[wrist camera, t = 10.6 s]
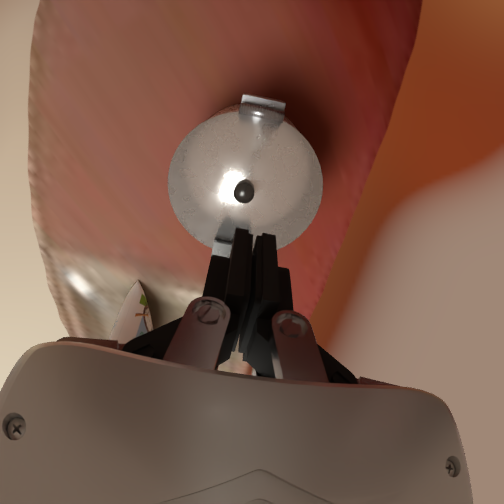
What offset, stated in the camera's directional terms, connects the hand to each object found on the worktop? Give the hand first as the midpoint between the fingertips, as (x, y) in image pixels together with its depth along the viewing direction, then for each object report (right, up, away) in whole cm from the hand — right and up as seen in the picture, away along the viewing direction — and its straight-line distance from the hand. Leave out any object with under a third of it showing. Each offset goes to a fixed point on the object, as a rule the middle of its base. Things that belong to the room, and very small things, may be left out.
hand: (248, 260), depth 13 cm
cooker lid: (-1, +6, +26) cm, 26 cm away
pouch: (-25, -13, +55) cm, 62 cm away
